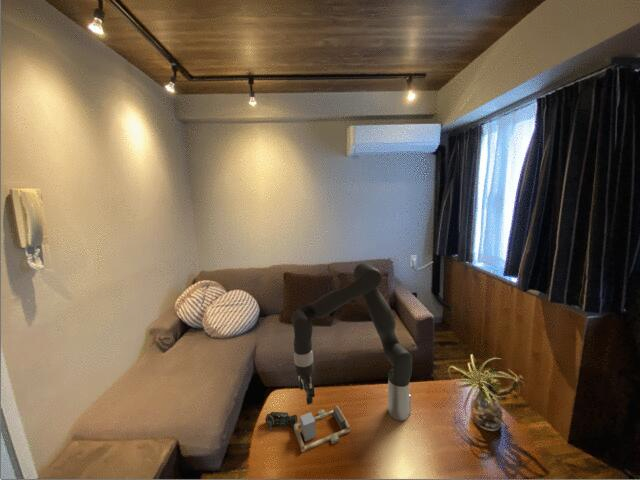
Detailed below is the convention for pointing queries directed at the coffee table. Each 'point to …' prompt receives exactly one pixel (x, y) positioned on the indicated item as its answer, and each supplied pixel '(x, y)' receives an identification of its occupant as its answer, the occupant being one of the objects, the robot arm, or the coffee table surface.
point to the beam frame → (333, 437)
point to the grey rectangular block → (308, 426)
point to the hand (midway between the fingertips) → (306, 395)
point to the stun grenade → (280, 419)
